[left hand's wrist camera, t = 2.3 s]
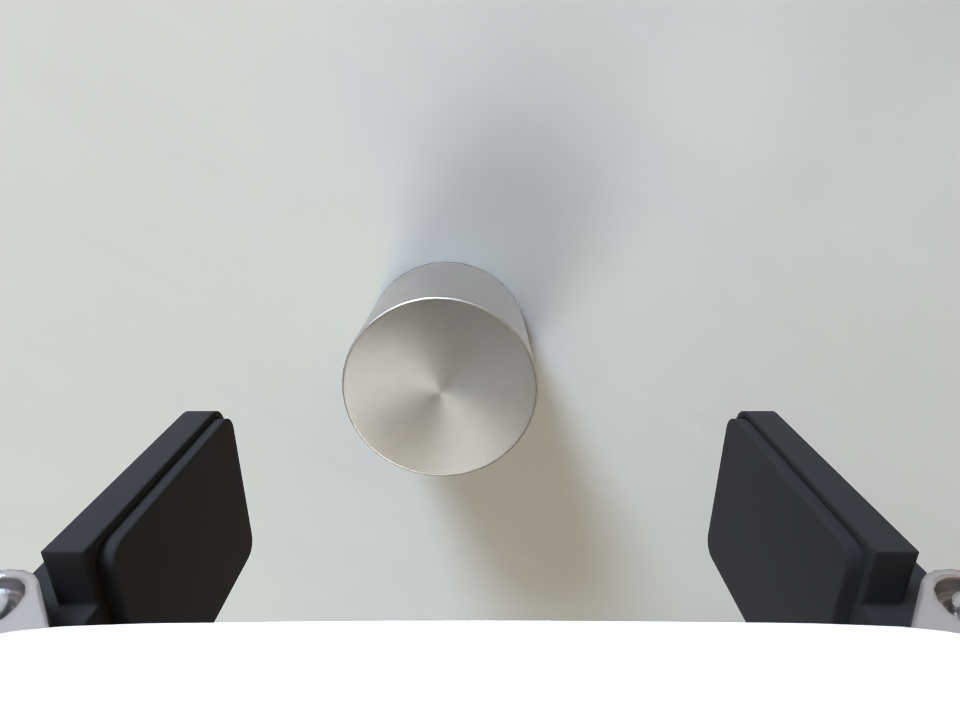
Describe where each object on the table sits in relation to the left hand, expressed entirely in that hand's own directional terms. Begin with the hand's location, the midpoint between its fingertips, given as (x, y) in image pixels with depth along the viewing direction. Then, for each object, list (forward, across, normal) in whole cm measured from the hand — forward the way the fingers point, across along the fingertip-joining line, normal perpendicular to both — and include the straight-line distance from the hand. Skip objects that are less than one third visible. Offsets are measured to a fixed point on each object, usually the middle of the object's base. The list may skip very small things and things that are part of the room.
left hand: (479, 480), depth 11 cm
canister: (+8, +1, 0) cm, 8 cm away
